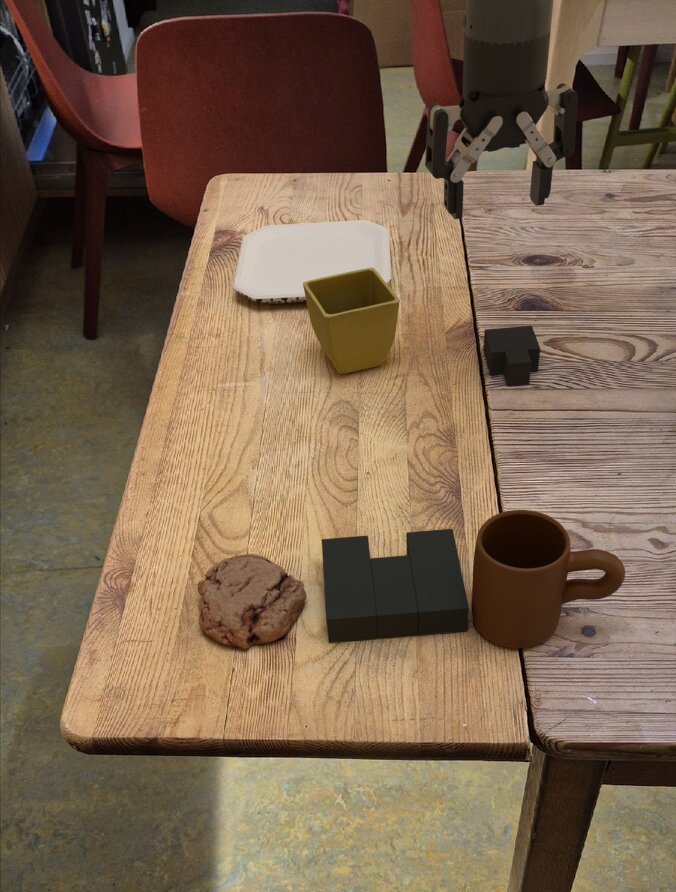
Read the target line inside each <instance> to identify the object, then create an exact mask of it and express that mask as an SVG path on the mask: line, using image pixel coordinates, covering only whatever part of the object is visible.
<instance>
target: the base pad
mask: <svg viewBox="0 0 676 892" xmlns="http://www.w3.org/2000/svg"><path fill="white" fill-rule="evenodd" d="M405 534H406V535H405V536H406V537H405V539H406V554H405V555H392V556H381V557H380V556H379V557H371V550H370V542H369V535H357V536H356V535H355V536H346V537H334V538H332V537H331V538H322V539H321V553H322V570H323V571H322V572H323V588H324V589H323V590H324V591H323V592H324V608H325V622H326V631H327V640H328V643H329V644H333V643H343V642H355V641H356V642H357V641H366V640H367V641H369V640H378V639H391V638H403V637H404V638H405V637H415V636H428V635H441V634H449V633H450V634H452V633H453V634H454V633H463V632H468V630H469V613H470V612H469V610H470V606H469V602H468V597H467V593H466V587H465V583H464V576H463V573H462V567H461V563H460V562H461V561H460V557H459V553H458V552H459V551H458V547H457V543H456V538H455V532H454V529H453V528H444V529H431V530H418V531H408V532H406V533H405Z"/></svg>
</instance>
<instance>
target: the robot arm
mask: <svg viewBox="0 0 676 892" xmlns="http://www.w3.org/2000/svg"><path fill="white" fill-rule="evenodd" d="M553 7H554V0H464V13H463V17H462V23H463V60H462V63H463V64H462V94H461V98H460V100H459V102H458V104H456V105H446V106H441V105H440V103H438V102H432V103H431V104H429V106H428V109H427V125H426V139H425V155H424V156H425V159H424V160H425V161H424V167H425V168H426V169H427V171H428V172H429V173H430V175H431V176H432V177H433V178H434V179H436V180H439V179H442V180H443V206H444V208H445V210H446V211H447V212H448V214H449V215H451V217H452V218H453V219H454V220H460V219H463V216H464V215H463V214H464V213H463V212H464V187H465V186H464V185H465V184H464V183H465V182H464V181H463V178H464V176H465V174H466V173H467V172H468V170H469V169H470V167H471V165H472V164H475V163H476V162H477V161H478V159H479V158H480V156H481V155H482V154H483V152H484V151H487V152H488V153H491V152H497V151H499V150H501V149H504V148H507V149H516V148H520V146H521V144H523V143H526V144H527V145H528V148H530V150H531V152H532V153H533V154H534V156H535V158H536V159H535V160H533V161H532V165H531V179H530V188H529V189H530V190H529V198H530V201H531V202H532V203H533V204H534V205H535V207H538V206H539V207H540V206H544V205H545V202H546V199H549V197H550V194H551V191H552V181H553V180H552V179H553V170H554V166H555V164H556V163H557V162H558V161H560V160H562V159H564V158H566V159H569V158H571V157H572V156H574V154H575V149H576V148H575V147H576V133H577V118H578V117H577V116H578V102H579V101H578V99H579V98H578V97H579V95H578V93H577V92H576V91H575V89H573V88H571V86H570V85H568V84H566V83H563V82H561V83H559V84H558V85H557V86H556V89H551V90H547V91H546V82H547V77H548V65H549V56H550V55H549V54H550V42H551V34H552V33H551V31H552V20H553V10H554V9H553ZM548 106H549V109H550V112H552V113H553V114H554V117H553V138H552V139H553V141H552V142H550V143H548V142H547V140H546V139H545V137H544V136H543V134H542V133H541V131H540V130H539V128H538V127H537V124H538V123H539V121H540V120H541V118H542V116H544V114H545V112H546V111H547V109H548ZM457 121H460V122H461V124H462V125H463V127H464V128H463V130H462V131H461V132H460V134H459V136H458V137H457V139H456V140H455V142H454V145H453V146H454V147H453V148H452V151H451V152H450V154H449V155H448V157H446V155H447V144H448V134H449V133H451V132H452V131H453V129H454V126H455V124H456V122H457Z"/></svg>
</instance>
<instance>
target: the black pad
mask: <svg viewBox="0 0 676 892" xmlns="http://www.w3.org/2000/svg"><path fill="white" fill-rule="evenodd" d="M483 334H484V336H483V348H482V349H483V350H482V353H483V356H484V359H485V363H486V367H487V369H488V372H489V376H501V375H503V377H504V380H505V384H506V386H507V387H517V386H518V387H519V386H529V385H530V379H531V373H536V372H539V365H540V358H541V357H540V355H541V346H540V344H539V341H538V338H537V336H536V333H535V330H534V327H533V325H522V326H511V327H510V326H509V327H498V328H489V329H488V328H487V329H484V332H483Z"/></svg>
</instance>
